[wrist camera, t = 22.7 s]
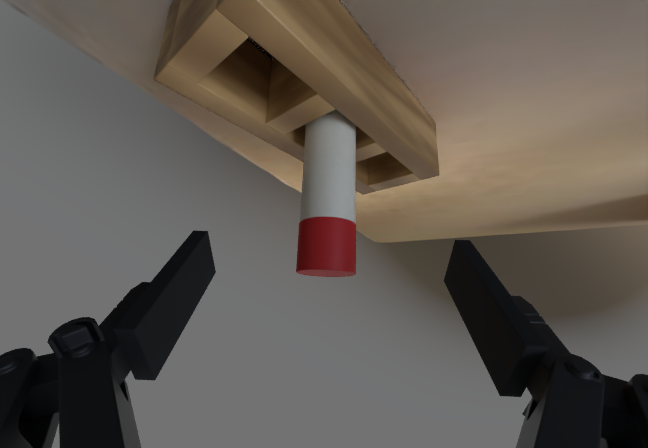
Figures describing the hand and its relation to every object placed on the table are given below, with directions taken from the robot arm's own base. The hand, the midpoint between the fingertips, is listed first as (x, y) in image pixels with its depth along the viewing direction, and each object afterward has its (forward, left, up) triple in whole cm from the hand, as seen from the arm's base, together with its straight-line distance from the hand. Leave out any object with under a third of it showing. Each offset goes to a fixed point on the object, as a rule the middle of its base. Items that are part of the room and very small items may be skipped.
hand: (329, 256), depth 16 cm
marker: (+1, +1, -13) cm, 13 cm away
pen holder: (+1, +1, -13) cm, 13 cm away
